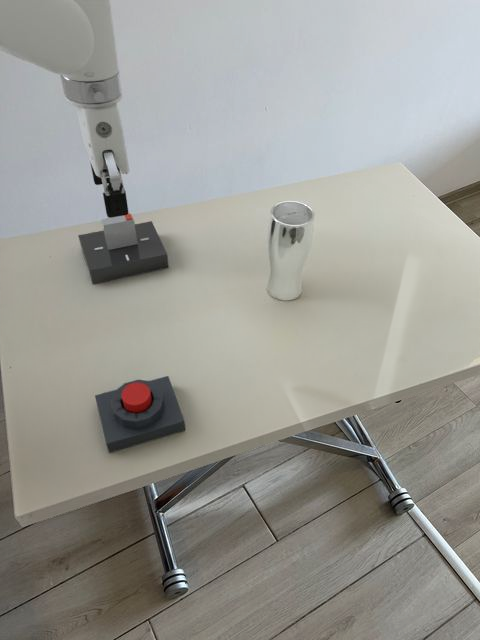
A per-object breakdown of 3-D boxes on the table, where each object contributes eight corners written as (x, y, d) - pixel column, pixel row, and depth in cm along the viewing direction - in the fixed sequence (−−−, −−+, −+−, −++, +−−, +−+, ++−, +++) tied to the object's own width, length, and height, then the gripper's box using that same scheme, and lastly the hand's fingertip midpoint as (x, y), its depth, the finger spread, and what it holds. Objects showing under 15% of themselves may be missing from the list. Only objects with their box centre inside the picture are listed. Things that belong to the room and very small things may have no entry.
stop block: (109, 453, 67) (103, 436, 64) (97, 404, 72) (92, 386, 69) (185, 430, 70) (183, 413, 67) (169, 385, 75) (167, 367, 72)
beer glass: (258, 296, 88) (262, 220, 77) (271, 271, 92) (277, 195, 81) (298, 307, 87) (309, 231, 76) (309, 281, 91) (321, 205, 80)
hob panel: (92, 284, 88) (88, 269, 86) (81, 249, 94) (77, 234, 92) (168, 267, 92) (167, 253, 89) (153, 234, 98) (151, 220, 95)
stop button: (126, 416, 67) (124, 408, 66) (120, 394, 69) (118, 386, 68) (154, 408, 68) (153, 400, 67) (148, 387, 70) (146, 379, 69)
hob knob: (108, 250, 89) (102, 224, 85) (106, 244, 90) (100, 218, 86) (137, 244, 91) (133, 218, 87) (135, 238, 92) (131, 212, 88)
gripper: (135, 109, 67) (148, 224, 79) (106, 59, 77) (122, 168, 90) (74, 116, 65) (97, 233, 77) (53, 64, 75) (77, 175, 88)
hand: (111, 198), depth 84 cm, fingers open, 9 cm apart
